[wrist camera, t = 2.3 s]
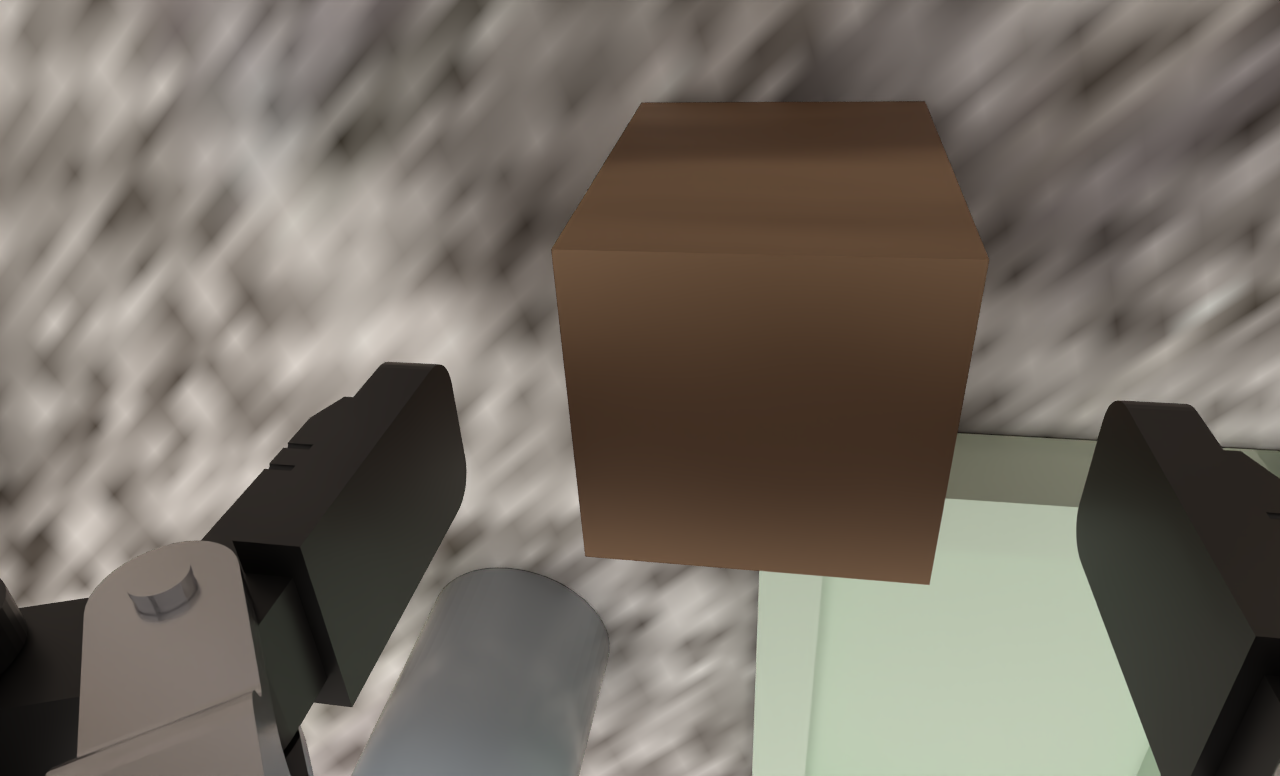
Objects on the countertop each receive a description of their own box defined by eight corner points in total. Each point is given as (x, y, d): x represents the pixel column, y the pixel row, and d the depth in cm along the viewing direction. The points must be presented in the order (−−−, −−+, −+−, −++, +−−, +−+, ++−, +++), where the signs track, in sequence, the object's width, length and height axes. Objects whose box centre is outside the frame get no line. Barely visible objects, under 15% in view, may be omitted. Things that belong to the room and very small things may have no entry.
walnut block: (641, 102, 14) (551, 250, 9) (924, 100, 14) (988, 259, 9) (652, 339, 17) (585, 556, 12) (893, 349, 16) (929, 584, 11)
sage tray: (767, 422, 17) (762, 486, 16) (1327, 453, 16) (1388, 528, 14) (754, 782, 24) (749, 854, 22) (1149, 831, 22) (1176, 913, 20)
